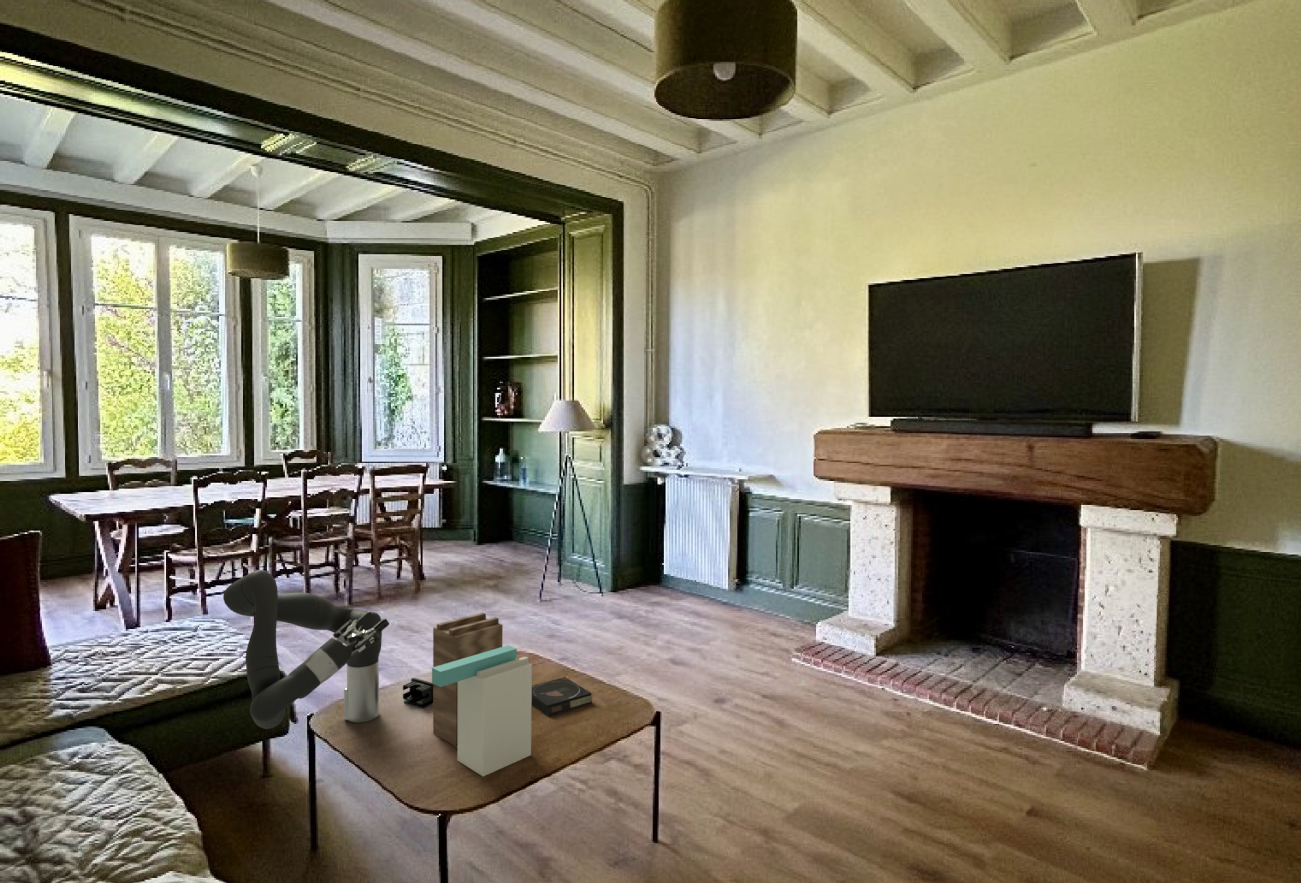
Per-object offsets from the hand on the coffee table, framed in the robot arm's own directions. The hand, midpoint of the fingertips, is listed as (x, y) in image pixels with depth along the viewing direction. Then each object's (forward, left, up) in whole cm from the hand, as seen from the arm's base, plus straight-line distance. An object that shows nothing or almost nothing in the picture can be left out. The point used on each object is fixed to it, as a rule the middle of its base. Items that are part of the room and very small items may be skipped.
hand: (379, 617), depth 193 cm
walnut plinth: (+18, +22, -41) cm, 50 cm away
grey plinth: (+30, +6, -41) cm, 51 cm away
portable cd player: (+41, +45, -42) cm, 73 cm away
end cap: (-3, +41, -41) cm, 58 cm away
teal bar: (+26, +2, -15) cm, 30 cm away
